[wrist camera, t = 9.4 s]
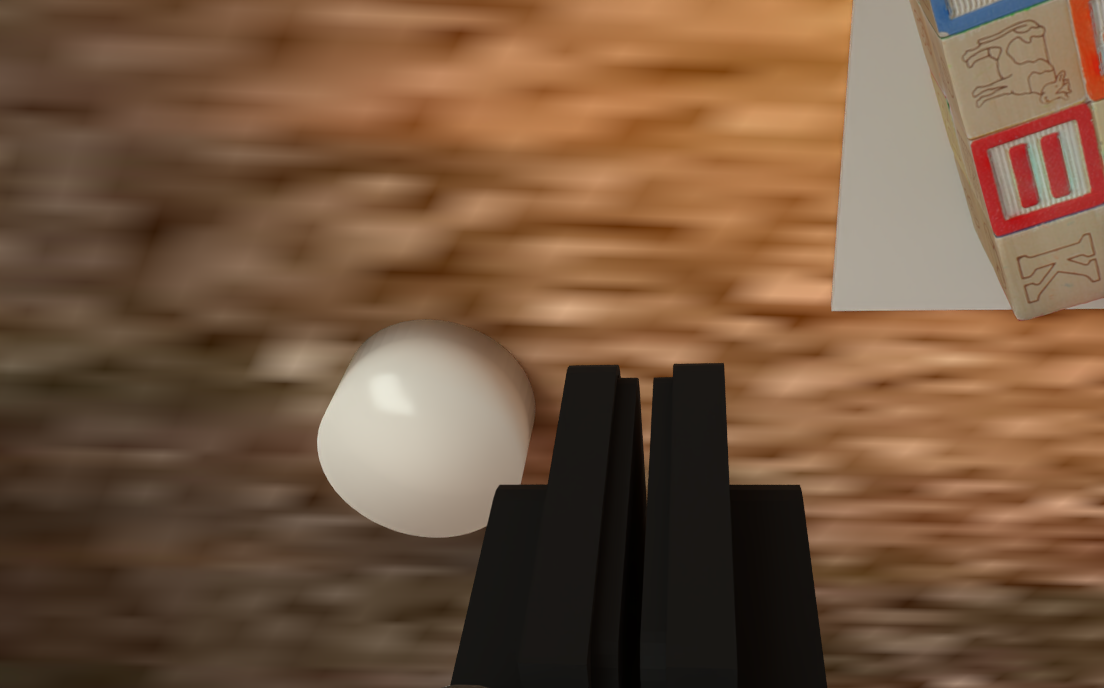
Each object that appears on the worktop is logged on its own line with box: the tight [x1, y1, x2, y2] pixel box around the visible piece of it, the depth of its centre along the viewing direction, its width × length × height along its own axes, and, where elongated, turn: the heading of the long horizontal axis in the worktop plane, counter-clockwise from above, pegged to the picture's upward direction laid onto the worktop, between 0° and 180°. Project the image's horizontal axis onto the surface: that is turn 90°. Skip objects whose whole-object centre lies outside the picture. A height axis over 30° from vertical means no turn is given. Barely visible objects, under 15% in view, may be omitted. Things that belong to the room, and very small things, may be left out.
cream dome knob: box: [317, 319, 535, 537], centre depth 42 cm, size 8×8×4 cm
